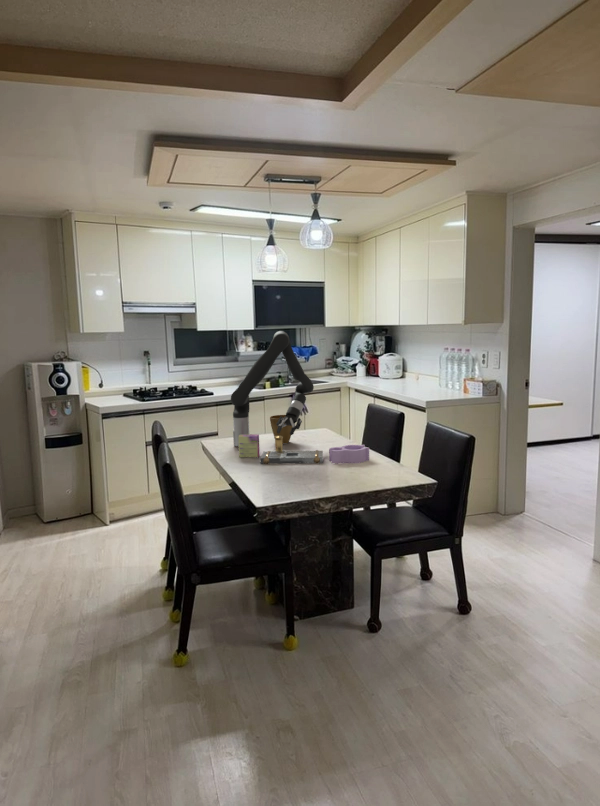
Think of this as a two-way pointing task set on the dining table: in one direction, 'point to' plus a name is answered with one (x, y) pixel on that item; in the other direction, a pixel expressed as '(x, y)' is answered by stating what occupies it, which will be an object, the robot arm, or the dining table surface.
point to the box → (248, 445)
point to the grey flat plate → (292, 457)
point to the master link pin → (278, 443)
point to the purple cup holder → (349, 454)
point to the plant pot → (284, 431)
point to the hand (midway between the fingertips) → (284, 433)
